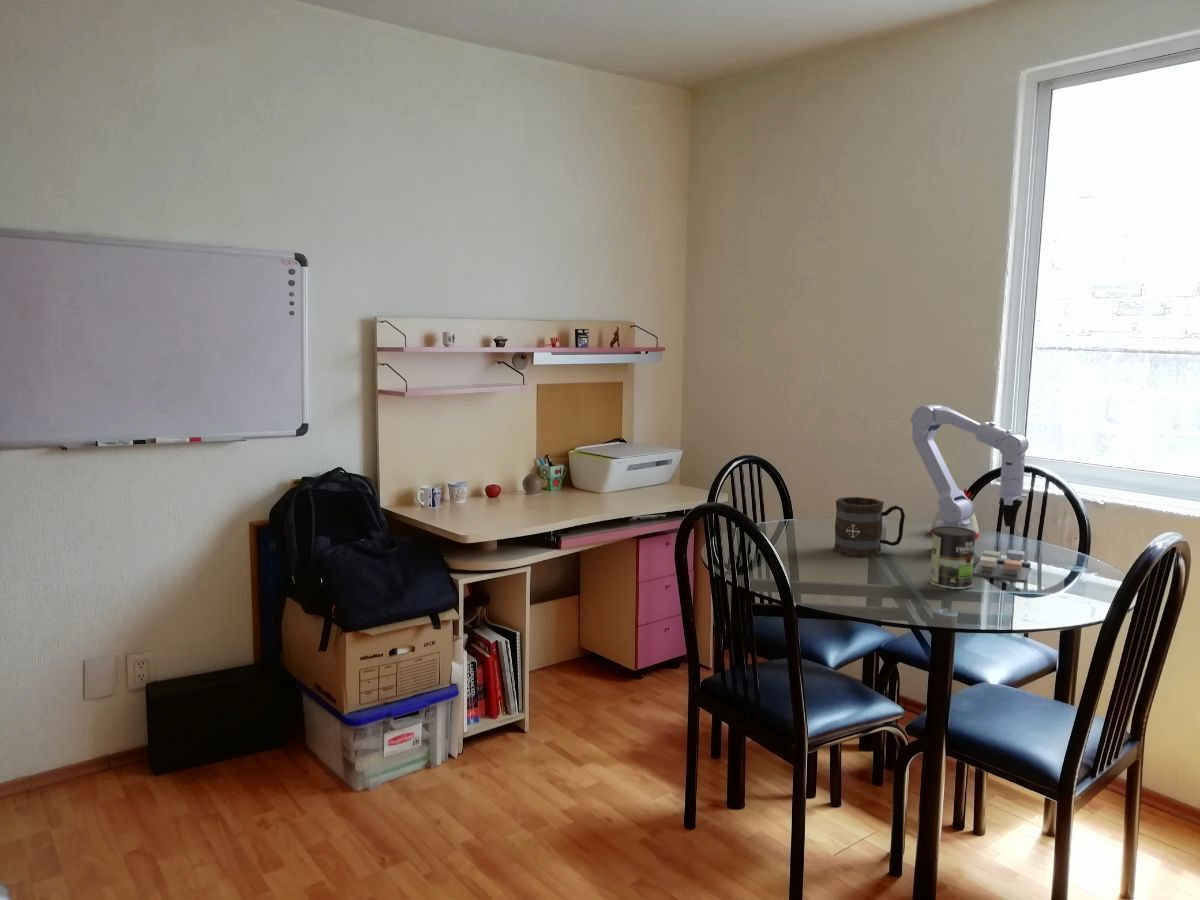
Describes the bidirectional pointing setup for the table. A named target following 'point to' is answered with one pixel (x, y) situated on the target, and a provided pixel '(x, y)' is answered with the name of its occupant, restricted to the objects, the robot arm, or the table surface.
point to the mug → (861, 526)
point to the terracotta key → (1012, 566)
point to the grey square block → (1015, 555)
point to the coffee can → (952, 557)
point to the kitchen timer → (972, 519)
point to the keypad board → (1003, 571)
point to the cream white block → (992, 554)
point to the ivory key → (988, 563)
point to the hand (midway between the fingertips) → (1009, 526)
